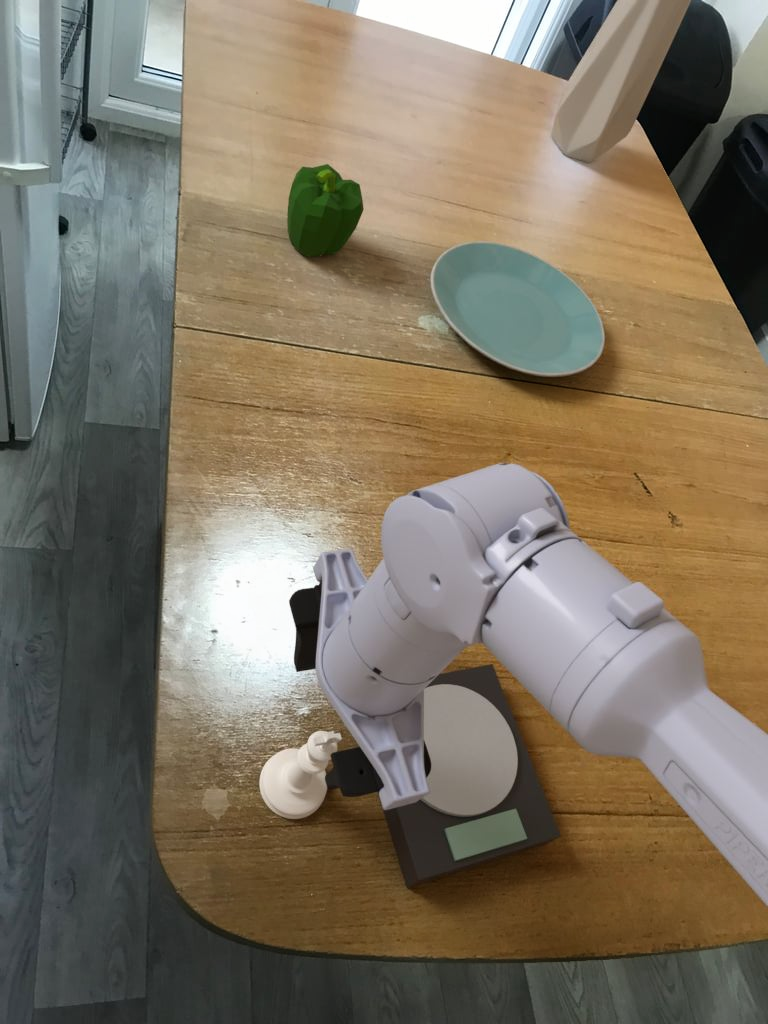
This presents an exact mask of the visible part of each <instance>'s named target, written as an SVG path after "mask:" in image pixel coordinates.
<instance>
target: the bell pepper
mask: <svg viewBox="0 0 768 1024" xmlns="http://www.w3.org/2000/svg"><path fill="white" fill-rule="evenodd" d="M363 212H364V201H363V194H362V189H361V185H360V183H358V182H356V181H354V180H352V179H343V178H342V176H341V174H340V173H339V172H338V171H337V170H336V169H334V168H333V167H332V166H331V165H330V164H328V163H325V164H323V165H317V166H314V167H309V166H301V168H300V169H299V170H298V171H297V172H296V174H295V175H294V178H293V181H292V183H291V187H290V191H289V195H288V205H287V215H286V216H287V217H286V222H287V225H286V226H287V234H288V238H289V241H290V244H291V246H292V247H293V248H294V249H295V250H296V251H297V252H299V253H300V254H302V255H304V256H306V257H308V258H320V257H321V256H323V255H328V256H331V255H335V254H337V253H339V252H340V251H341V250H342V249H343V247H344V246H345V245H346V244H347V242H348V241H349V240H350V238H351V237H352V235H353V234H354V232H355V230H356V229H357V226H358V224H359V223H360V219H361V218H362V215H363Z"/></svg>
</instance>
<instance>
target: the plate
mask: <svg viewBox="0 0 768 1024" xmlns="http://www.w3.org/2000/svg"><path fill="white" fill-rule="evenodd" d="M429 281H430V289H431V293H432V298H433V300H434V303H435V305H436V307H437V308H438V311H439V313H440V314H441V315H442V317H443V318H444V320H445V321H446V323H447V324H448V326H450V327H451V328H452V331H454V332H455V333H456V334H457V335H458V336H459V337H460V338H461V339H462V340H463V341H464V342H466V343H467V344H468V345H469V346H470V347H472V348H473V349H474V350H475V351H477V352H478V353H480V354H481V355H483V357H486V358H488V359H489V360H491V361H493V362H495V363H497V364H499V365H501V366H502V367H505V368H508V369H510V370H513V371H516V372H520V373H522V374H526V375H530V376H534V377H535V376H536V377H543V378H544V377H545V378H546V377H547V378H559V377H560V378H561V377H562V378H563V377H567V376H572V375H576V374H579V373H581V372H584V371H586V370H588V369H589V368H590V367H592V366H594V364H596V363H597V361H598V360H599V359H600V357H601V356H602V354H603V351H604V348H605V343H606V341H605V340H606V334H605V333H606V332H605V328H604V323H603V321H602V317H601V315H600V313H599V311H598V309H597V307H596V305H595V304H594V303H593V300H591V298H590V297H589V295H588V294H587V293H586V292H585V290H583V289H582V287H581V286H579V284H578V283H577V282H575V280H573V279H572V278H571V277H570V276H568V275H567V273H565V272H564V271H562V270H561V269H560V268H558V267H556V266H554V265H553V264H551V263H550V262H548V261H546V260H545V259H544V258H541V257H539V256H537V255H536V254H533V253H531V252H529V251H526V250H524V249H521V248H518V247H515V246H513V245H509V244H505V243H500V242H495V241H483V240H482V241H469V242H464V243H460V244H456V245H454V246H452V247H450V248H448V249H447V250H445V251H444V252H443V253H441V254H440V255H439V256H438V258H437V259H436V260H435V262H434V264H433V266H432V269H431V273H430V280H429Z"/></svg>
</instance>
